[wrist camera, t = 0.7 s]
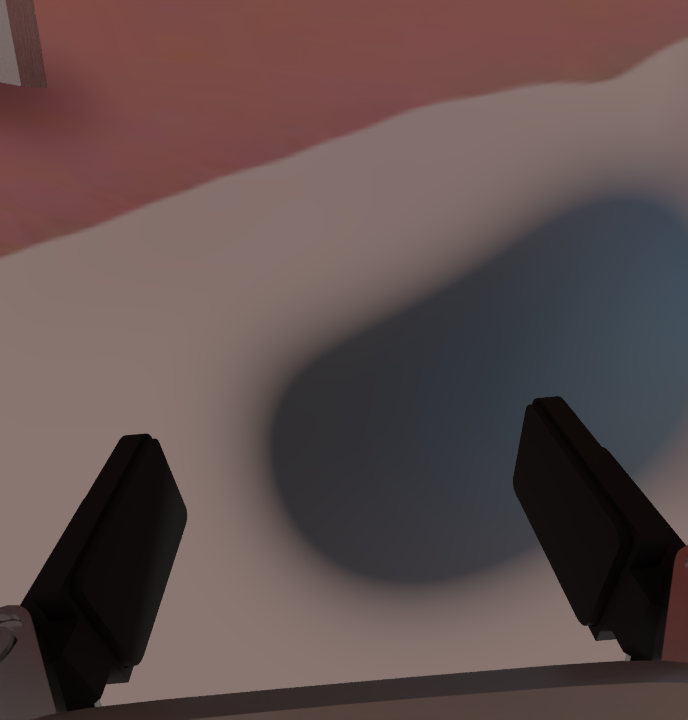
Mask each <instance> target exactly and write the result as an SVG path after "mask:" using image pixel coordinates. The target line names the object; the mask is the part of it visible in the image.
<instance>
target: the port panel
mask: <svg viewBox="0 0 688 720" xmlns="http://www.w3.org/2000/svg"><path fill="white" fill-rule="evenodd" d="M0 82H2V83H7V84H12V85H18V86H28V87H46V88H47V86H46V80H45V74H44V68H43V61H42V55H41V49H40V43H39V36H38V30H37V24H36V18H35V11H34V5H33V0H0Z"/></svg>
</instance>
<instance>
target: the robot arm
mask: <svg viewBox="0 0 688 720" xmlns="http://www.w3.org/2000/svg"><path fill="white" fill-rule="evenodd" d="M513 486H514V490H515V493H516V495H517V497H518V499H519V501H520V503H521V505H522V508H523V509H524V512H525V513H526V516H527V518H528V520H529V522H530V524H531V526H532V528H533V530H534V532H535V534H536V536H537V538H538V540H539V542H540V544H541V546H542V548H543V550H544V552H545V554H546V556H547V558H548V560H549V562H550V564H551V566H552V568H553V570H554V572H555V574H556V576H557V579H558V580H559V583H560V584H561V587H562V589H563V591H564V593H565V595H566V597H567V599H568V601H569V603H570V605H571V607H572V609H573V611H574V613H575V615H576V617H577V619H578V620H579V622H580V623H581V624H582V625H584V626H587V625H588V626H589V628H590V630H591V632H592V634H593V636H594V638H595V640H596V641H599V640H612V639H617V641H618V643H619V645H620V647H621V648H622V650H623V652H624V653H626V659H625V661H615V662H598V663H582V664H567V665H553V666H552V665H551V666H538V667H526V668H514V669H502V670H489V671H478V672H465V673H454V674H441V675H431V676H430V675H429V676H418V677H406V678H395V679H383V680H372V681H361V682H349V683H339V684H327V685H316V686H304V687H295V688H282V689H272V690H261V691H250V692H240V693H230V694H218V695H207V696H198V697H186V698H176V699H165V700H156V701H148V702H138V703H130V704H121V705H112V706H103V707H102V706H101V703H100V700H99V699H100V698H101V696H102V694H103V691H104V688H105V685H106V684H115V683H126V682H129V679H130V676H131V673H132V670H133V667H134V666H135V665H138V664H139V663H140V662H141V660H142V658H143V656H144V653H145V650H146V647H147V644H148V640H149V637H150V634H151V631H152V628H153V625H154V622H155V618H156V616H157V612H158V609H159V606H160V603H161V600H162V597H163V594H164V591H165V587H166V584H167V581H168V578H169V575H170V572H171V569H172V565H173V562H174V559H175V556H176V553H177V550H178V547H179V544H180V541H181V538H182V535H183V531H184V528H185V525H186V521H187V510H186V507H185V504H184V502H183V499H182V497H181V494H180V492H179V490H178V487H177V485H176V482H175V480H174V478H173V475H172V472H171V470H170V468H169V465H168V463H167V460H166V458H165V455H164V453H163V451H162V448H161V446H160V443H159V441H158V440H157V439H152V437H151V436H150V435H149V434H137V435H125V436H123V437H122V438H121V439H120V440H119V442H118V444H117V445H116V447H115V449H114V450H113V452H112V454H111V456H110V457H109V459H108V460H107V462H106V464H105V466H104V467H103V469H102V470H101V472H100V474H99V475H98V477H97V479H96V480H95V482H94V484H93V486H92V487H91V489H90V490H89V492H88V494H87V496H86V497H85V498H84V500H83V501H82V503H81V504H80V506H79V508H78V509H77V511H76V513H75V514H74V516H73V518H72V519H71V521H70V523H69V524H68V526H67V528H66V530H65V531H64V533H63V534H62V536H61V538H60V539H59V541H58V543H57V545H56V546H55V548H54V549H53V551H52V553H51V555H50V556H49V558H48V560H47V561H46V563H45V565H44V566H43V568H42V570H41V571H40V573H39V575H38V576H37V578H36V580H35V581H34V583H33V585H32V586H31V588H30V590H29V591H28V593H27V595H26V596H25V598H24V600H23V601H22V603H21V605H20V606H19V605H7V606H4V607H0V720H688V545H687V546H686V545H685V544H684V542H683V541H682V540H681V539H680V538H679V536H678V535H677V534H676V533H675V531H674V530H673V529H672V528H671V527H670V525H669V524H668V523H667V522H666V520H665V519H664V518H663V517H662V516H661V514H660V513H659V512H658V511H657V510H656V508H655V507H654V506H653V505H652V503H651V502H650V501H649V500H648V498H647V497H646V496H645V495H644V494H643V492H642V491H641V490H640V489H639V487H638V486H637V485H636V484H635V483H634V481H633V480H632V479H631V478H630V477H629V475H628V474H627V473H626V472H625V470H624V469H623V468H622V467H621V465H620V464H619V463H618V462H617V461H616V459H615V458H614V457H613V456H612V455H611V454H610V452H609V451H607V449H605V448H604V447H601V445H600V444H599V443H598V442H597V441H596V439H595V438H594V437H593V435H592V434H591V433H590V432H589V430H588V429H587V428H586V427H585V425H584V424H583V423H582V422H581V421H580V419H579V418H578V417H577V416H576V414H575V413H574V412H573V411H572V409H571V408H570V407H569V406H568V404H567V403H566V402H565V401H564V400H563V399H562V398H561V397H559V396H556V397H545V398H536V399H534V401H533V403H532V405H528V406H527V407H526V411H525V417H524V423H523V428H522V434H521V438H520V444H519V449H518V455H517V460H516V465H515V471H514V476H513Z"/></svg>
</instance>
